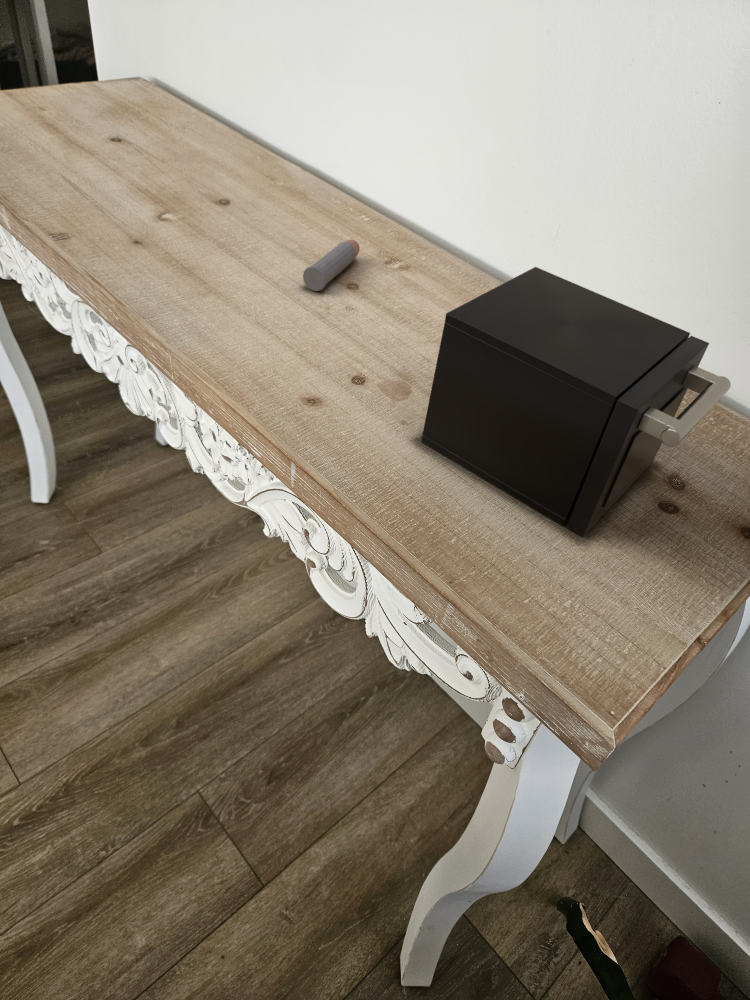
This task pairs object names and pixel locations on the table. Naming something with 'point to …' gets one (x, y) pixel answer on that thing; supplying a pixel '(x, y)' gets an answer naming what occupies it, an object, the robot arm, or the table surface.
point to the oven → (537, 384)
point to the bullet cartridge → (330, 265)
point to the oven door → (646, 428)
